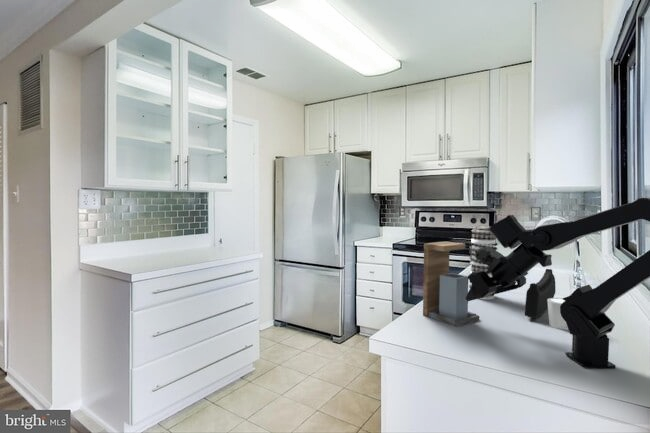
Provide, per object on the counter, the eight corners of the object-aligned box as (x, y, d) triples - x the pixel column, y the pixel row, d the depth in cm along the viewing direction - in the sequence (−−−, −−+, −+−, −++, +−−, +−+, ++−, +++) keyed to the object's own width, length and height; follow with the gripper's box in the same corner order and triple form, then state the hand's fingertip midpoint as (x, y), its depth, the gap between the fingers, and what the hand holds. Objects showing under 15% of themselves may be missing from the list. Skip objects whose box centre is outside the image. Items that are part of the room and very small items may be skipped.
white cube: (562, 331, 95) (563, 305, 95) (540, 323, 102) (541, 298, 102) (582, 329, 97) (583, 303, 97) (559, 320, 104) (560, 296, 104)
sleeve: (467, 319, 105) (468, 276, 104) (455, 322, 102) (456, 278, 101) (451, 314, 110) (451, 273, 109) (439, 317, 106) (439, 275, 106)
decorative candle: (496, 301, 124) (498, 227, 122) (467, 297, 128) (468, 226, 126) (496, 294, 132) (498, 226, 131) (469, 291, 136) (470, 225, 135)
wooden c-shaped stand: (479, 319, 104) (480, 245, 103) (457, 326, 99) (459, 248, 98) (444, 309, 114) (445, 241, 113) (422, 314, 109) (424, 243, 108)
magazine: (536, 293, 100) (555, 250, 122) (523, 291, 102) (543, 249, 124) (538, 345, 105) (555, 295, 126) (525, 342, 107) (545, 294, 128)
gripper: (515, 235, 99) (478, 269, 109) (475, 240, 89) (437, 276, 98) (545, 268, 93) (503, 301, 103) (506, 277, 83) (463, 312, 92)
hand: (476, 297), depth 99 cm, fingers open, 9 cm apart
